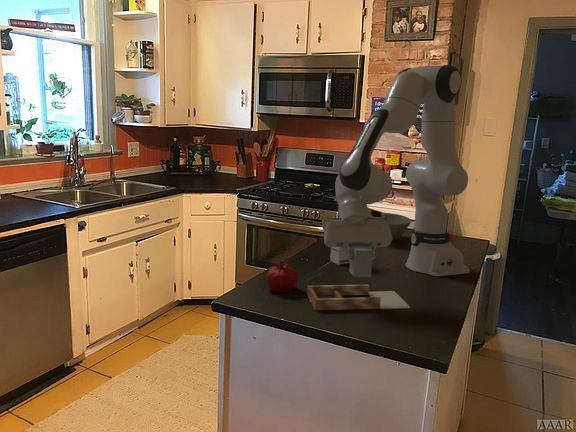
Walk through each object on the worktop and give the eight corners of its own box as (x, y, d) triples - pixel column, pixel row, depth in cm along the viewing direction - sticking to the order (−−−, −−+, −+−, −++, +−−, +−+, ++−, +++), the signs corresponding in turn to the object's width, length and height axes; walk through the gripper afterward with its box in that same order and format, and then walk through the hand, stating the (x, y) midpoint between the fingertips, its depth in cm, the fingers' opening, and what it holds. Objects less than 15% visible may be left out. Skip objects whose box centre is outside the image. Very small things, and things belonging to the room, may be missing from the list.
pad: (394, 292, 151) (394, 291, 151) (410, 308, 139) (410, 307, 139) (366, 292, 149) (366, 291, 149) (380, 309, 137) (380, 307, 137)
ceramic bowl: (377, 230, 229) (379, 210, 227) (419, 241, 213) (421, 219, 210) (346, 237, 214) (348, 215, 212) (389, 249, 198) (391, 226, 196)
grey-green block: (365, 271, 144) (367, 245, 142) (370, 277, 139) (373, 250, 137) (349, 271, 143) (351, 245, 141) (354, 277, 138) (356, 250, 136)
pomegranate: (294, 297, 144) (296, 267, 142) (262, 293, 146) (263, 264, 144) (299, 285, 154) (301, 257, 151) (269, 281, 155) (270, 254, 153)
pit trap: (335, 294, 147) (335, 284, 147) (345, 309, 136) (346, 299, 136) (306, 294, 146) (307, 285, 145) (315, 310, 135) (315, 300, 134)
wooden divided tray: (367, 293, 149) (367, 284, 148) (379, 308, 138) (380, 298, 137) (310, 294, 146) (310, 285, 145) (318, 310, 135) (319, 300, 134)
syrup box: (338, 265, 175) (340, 226, 172) (329, 260, 180) (332, 222, 177) (351, 263, 178) (354, 225, 175) (342, 258, 183) (344, 221, 180)
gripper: (323, 212, 142) (329, 253, 135) (389, 212, 146) (398, 253, 138) (318, 223, 148) (324, 263, 140) (382, 223, 151) (391, 263, 144)
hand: (361, 258), depth 139 cm, fingers closed on grey-green block, 5 cm apart
